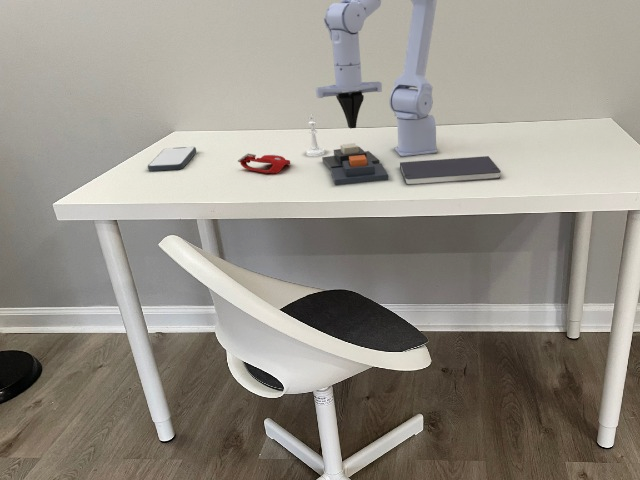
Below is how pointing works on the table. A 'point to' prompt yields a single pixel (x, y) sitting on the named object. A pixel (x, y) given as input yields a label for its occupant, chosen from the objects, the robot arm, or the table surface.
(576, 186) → the table surface
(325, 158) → the dark grey stepped base
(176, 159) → the phone case
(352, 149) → the cream key
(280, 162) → the red curved piece
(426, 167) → the notebook
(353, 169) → the slotted grey holder
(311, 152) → the chess piece
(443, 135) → the table surface
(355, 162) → the orange key
